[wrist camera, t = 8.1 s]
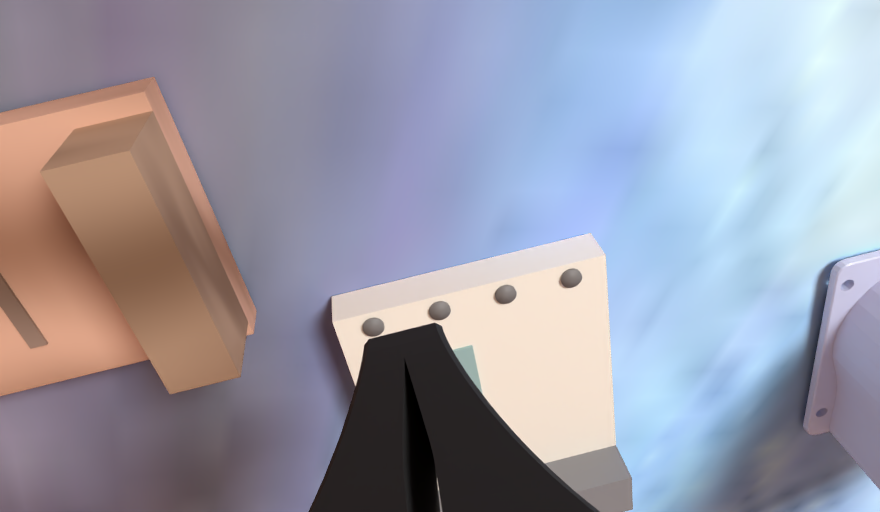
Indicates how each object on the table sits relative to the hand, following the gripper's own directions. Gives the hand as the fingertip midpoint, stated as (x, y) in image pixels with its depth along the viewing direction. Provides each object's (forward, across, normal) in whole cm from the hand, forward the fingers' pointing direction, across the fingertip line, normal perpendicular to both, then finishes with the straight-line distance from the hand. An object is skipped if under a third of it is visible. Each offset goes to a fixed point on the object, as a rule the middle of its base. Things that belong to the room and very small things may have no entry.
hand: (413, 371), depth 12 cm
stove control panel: (+9, -2, +10) cm, 14 cm away
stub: (+9, +10, 0) cm, 13 cm away
